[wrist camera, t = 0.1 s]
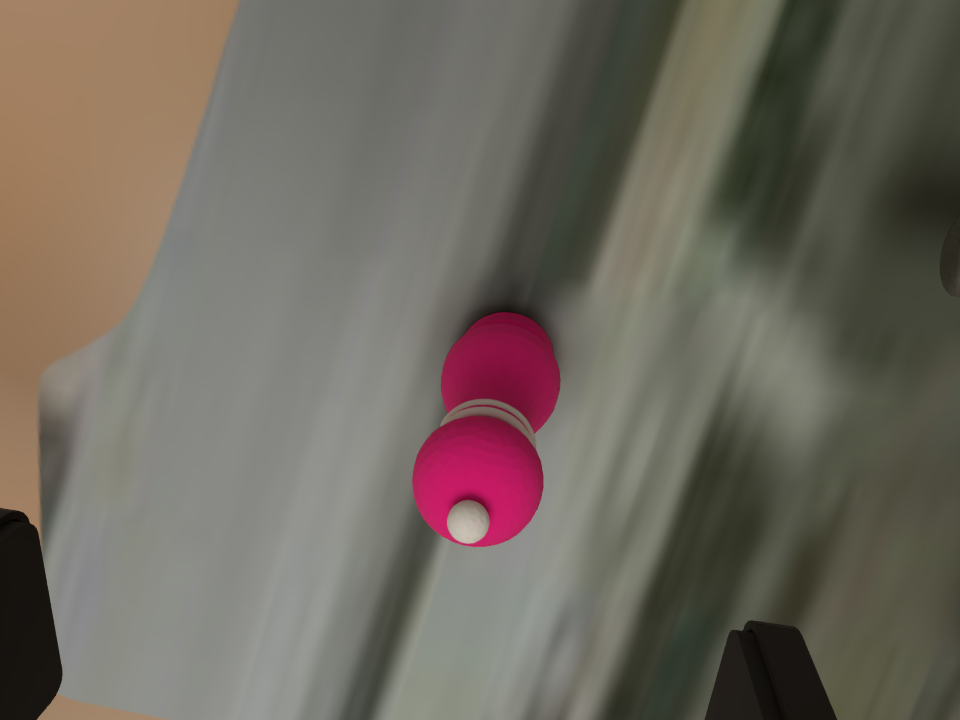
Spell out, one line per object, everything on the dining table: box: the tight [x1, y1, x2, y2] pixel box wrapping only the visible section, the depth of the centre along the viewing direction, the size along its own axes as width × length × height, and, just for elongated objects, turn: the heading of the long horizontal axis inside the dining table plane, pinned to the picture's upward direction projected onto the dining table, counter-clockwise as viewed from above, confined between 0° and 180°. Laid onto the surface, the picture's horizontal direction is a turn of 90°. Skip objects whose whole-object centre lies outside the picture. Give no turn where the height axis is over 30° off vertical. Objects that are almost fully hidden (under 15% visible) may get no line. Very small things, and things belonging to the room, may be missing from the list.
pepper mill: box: [412, 312, 560, 547], centre depth 38 cm, size 7×7×20 cm
